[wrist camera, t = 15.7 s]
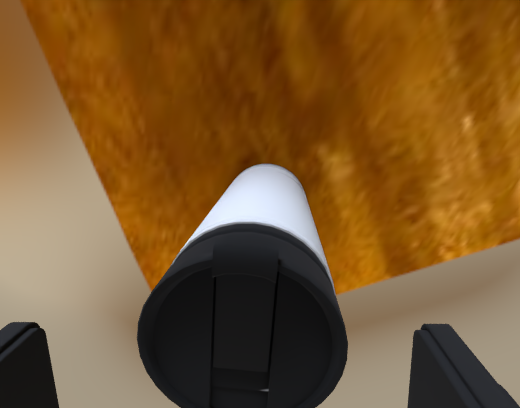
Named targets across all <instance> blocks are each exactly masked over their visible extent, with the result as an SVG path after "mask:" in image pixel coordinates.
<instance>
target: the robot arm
mask: <svg viewBox="0 0 520 408" xmlns="http://www.w3.org/2000/svg"><path fill="white" fill-rule="evenodd" d="M411 361H412V362H411V373H410V384H409V397H408V408H520V407H519V405H518V404H517V403H516V402H515V401H514V399H513V398H512V397H511V396H510V395H509V394H508V392H507V391H506V390H505V389H504V388H503V387H502V386H501V385H499V384H498V383H497V382H496V381H495V379H494V378H493V377H492V376H491V375H490V373H489V372H488V371H487V370H486V369H485V367H484V366H483V365H482V364H481V362H480V361H479V360H478V359H477V358H476V356H475V355H474V354H473V353H472V351H471V350H470V349H469V348H468V347H467V345H466V344H465V343H464V342H463V341H462V339H461V338H460V337H459V336H458V334H457V333H456V332H455V331H454V329H453V328H452V327H451V326H450V325H449V324H423V325H422V327H421V330H415V332H414V336H413V348H412V360H411ZM0 408H59V404H58V399H57V393H56V388H55V382H54V377H53V371H52V366H51V360H50V355H49V349H48V344H47V338H46V333H45V331H44V329H42V328H40V326H39V325H38V324H37V323H35V322H13V323H10V324H8V325H6V326H5V327H4V328H2V329H1V330H0Z"/></svg>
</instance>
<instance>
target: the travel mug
mask: <svg viewBox="0 0 520 408" xmlns="http://www.w3.org/2000/svg"><path fill="white" fill-rule="evenodd" d="M137 341H138V347H139V353H140V357H141V359H142V362H143V364H144V366H145V369H146V371H147V373H148V375H149V376H150V378H151V379H152V380H153V382H154V383H155V385H156V386H157V387H158V388H159V389H160V390H161V391H162V392H163V393H164V395H165V396H167V398H169V399H170V400H171V401H172V402H174V403H175V404H177V405H178V406H179V407H181V408H315V407H317V406H318V405H319V404H321V403H322V402H323V401H324V400H325V399H326V398H327V397H328V396H329V395H330V394H331V392H332V391H333V390H334V389H335V387H336V385H337V383H338V382H339V380H340V378H341V377H342V374H343V371H344V368H345V365H346V361H347V350H348V341H347V335H346V330H345V325H344V322H343V318H342V315H341V312H340V309H339V305H338V302H337V299H336V295H335V290H334V285H333V280H332V277H331V275H330V271H329V268H328V265H327V261H326V258H325V255H324V252H323V249H322V246H321V242H320V239H319V236H318V233H317V230H316V227H315V224H314V220H313V217H312V214H311V211H310V208H309V205H308V202H307V198H306V195H305V192H304V189H303V187H302V185H301V183H300V182H299V180H298V179H297V177H296V176H295V175H293V174H292V173H291V172H290V171H288V170H287V169H285V168H283V167H281V166H278V165H274V164H259V165H254V166H252V167H250V168H247V169H246V170H244V171H243V172H241V173H240V174H239V175H238V176H237V177H236V178H235V180H234V181H233V182H232V184H231V185H230V186H229V188H228V189H227V190H226V192H225V193H224V194H223V195H222V197H221V198H220V199H219V201H218V202H217V203H216V205H215V206H214V207H213V209H212V210H211V211H210V213H209V214H208V215H207V216H206V218H205V219H204V220H203V222H202V223H201V224H200V226H199V227H198V228H197V230H196V231H195V232H194V234H193V235H192V236H191V237H190V239H189V240H188V241H187V243H186V244H185V245H184V247H183V248H182V249H181V251H180V252H179V253H178V255H177V257H176V258H175V260H174V261H173V263H172V265H171V266H170V268H169V269H168V271H167V272H166V273H165V275H164V276H163V277H162V279H161V280H160V281H159V283H158V284H157V285H156V287H155V288H154V289H153V291H152V292H151V294H150V296H149V297H148V299H147V301H146V302H145V304H144V306H143V309H142V312H141V315H140V318H139V321H138V332H137Z"/></svg>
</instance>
